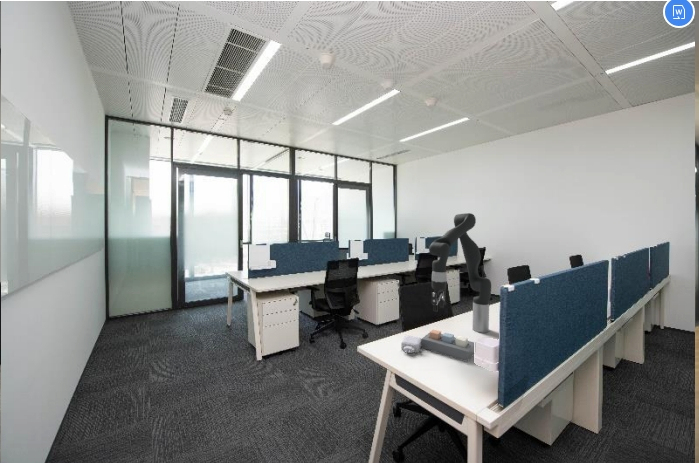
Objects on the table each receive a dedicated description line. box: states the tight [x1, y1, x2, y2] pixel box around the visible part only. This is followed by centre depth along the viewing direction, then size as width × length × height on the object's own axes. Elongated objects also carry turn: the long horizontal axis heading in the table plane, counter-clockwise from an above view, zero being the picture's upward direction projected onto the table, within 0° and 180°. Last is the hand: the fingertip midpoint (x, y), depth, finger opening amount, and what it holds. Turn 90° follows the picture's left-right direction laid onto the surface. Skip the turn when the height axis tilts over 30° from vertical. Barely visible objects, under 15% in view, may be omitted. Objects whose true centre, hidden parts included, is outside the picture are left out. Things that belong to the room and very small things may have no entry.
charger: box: [400, 335, 422, 354], centre depth 151 cm, size 5×9×15 cm
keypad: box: [420, 332, 475, 362], centre depth 151 cm, size 13×24×5 cm, turn 51°
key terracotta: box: [429, 329, 442, 340], centre depth 155 cm, size 5×5×5 cm
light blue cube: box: [442, 332, 455, 344], centre depth 151 cm, size 5×5×5 cm
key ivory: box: [455, 335, 469, 348], centre depth 146 cm, size 5×5×5 cm
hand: (438, 309), depth 153 cm, fingers open, 8 cm apart
